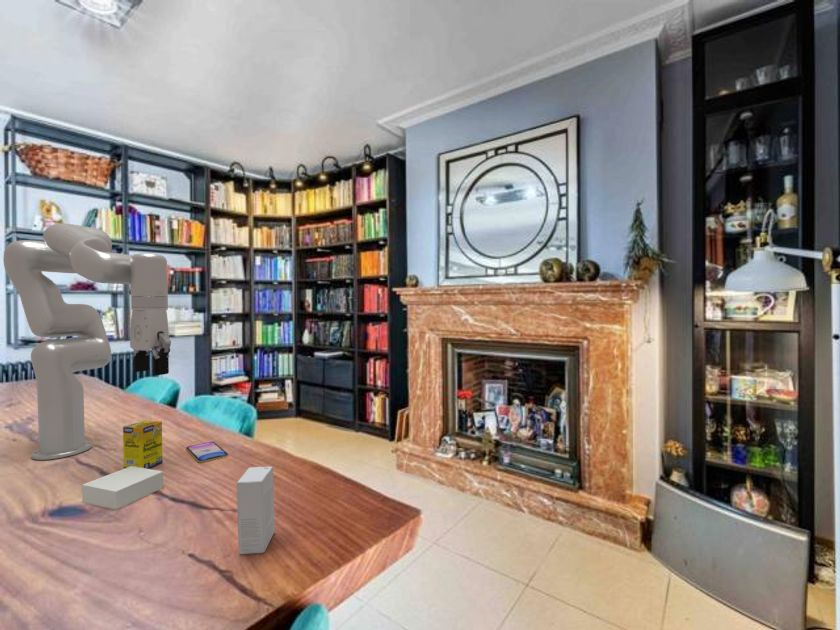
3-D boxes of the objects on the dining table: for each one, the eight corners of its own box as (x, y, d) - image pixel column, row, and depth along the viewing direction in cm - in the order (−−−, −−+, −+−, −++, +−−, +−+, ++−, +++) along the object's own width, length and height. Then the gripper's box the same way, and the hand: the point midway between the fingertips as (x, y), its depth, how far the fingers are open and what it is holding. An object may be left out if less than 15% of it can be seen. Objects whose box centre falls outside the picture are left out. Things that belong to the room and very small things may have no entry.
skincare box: (250, 533, 69) (248, 466, 69) (275, 532, 69) (273, 465, 69) (237, 555, 63) (235, 482, 63) (264, 553, 63) (263, 480, 63)
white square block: (82, 503, 81) (82, 484, 81) (131, 483, 91) (131, 465, 90) (116, 511, 78) (115, 491, 78) (163, 489, 87) (163, 471, 87)
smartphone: (213, 443, 117) (213, 439, 116) (230, 457, 105) (230, 453, 105) (184, 450, 111) (184, 446, 111) (198, 465, 100) (198, 461, 100)
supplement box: (143, 472, 96) (142, 427, 95) (122, 470, 97) (121, 426, 97) (163, 462, 101) (162, 420, 101) (144, 461, 103) (143, 419, 102)
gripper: (116, 304, 98) (118, 372, 99) (150, 304, 89) (151, 378, 90) (149, 304, 105) (151, 367, 105) (184, 304, 96) (185, 373, 96)
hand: (151, 372), depth 97 cm, fingers open, 9 cm apart
